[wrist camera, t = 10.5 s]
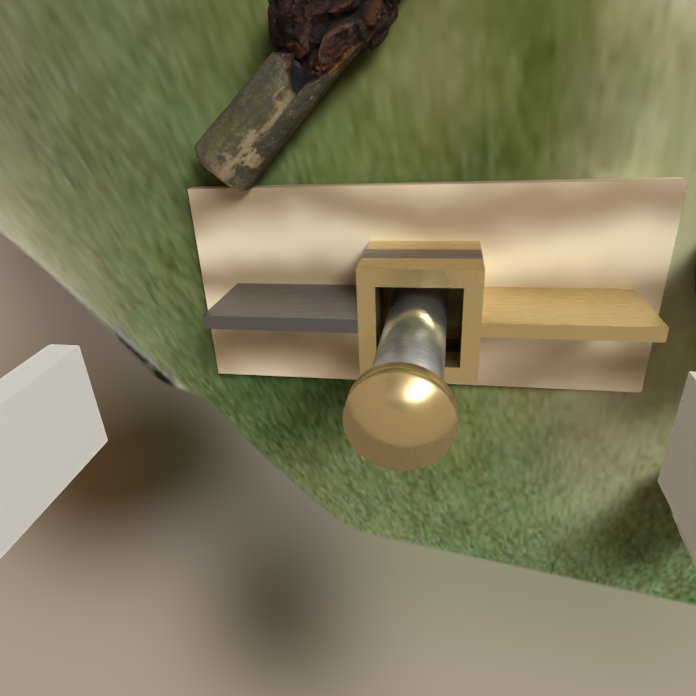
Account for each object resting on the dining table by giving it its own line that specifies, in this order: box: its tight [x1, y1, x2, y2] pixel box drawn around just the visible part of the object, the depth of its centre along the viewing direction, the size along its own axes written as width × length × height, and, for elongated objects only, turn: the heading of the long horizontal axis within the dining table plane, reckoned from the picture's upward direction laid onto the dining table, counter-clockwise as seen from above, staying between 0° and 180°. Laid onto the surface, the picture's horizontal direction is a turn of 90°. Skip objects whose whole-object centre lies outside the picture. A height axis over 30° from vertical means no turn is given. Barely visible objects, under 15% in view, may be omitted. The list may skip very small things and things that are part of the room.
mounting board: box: [188, 177, 689, 393], centre depth 42 cm, size 16×35×1 cm, turn 93°
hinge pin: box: [343, 287, 457, 471], centre depth 33 cm, size 5×5×18 cm
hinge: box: [203, 241, 669, 384], centre depth 38 cm, size 8×30×7 cm, turn 93°
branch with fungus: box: [195, 0, 400, 191], centre depth 35 cm, size 18×7×6 cm, turn 135°
